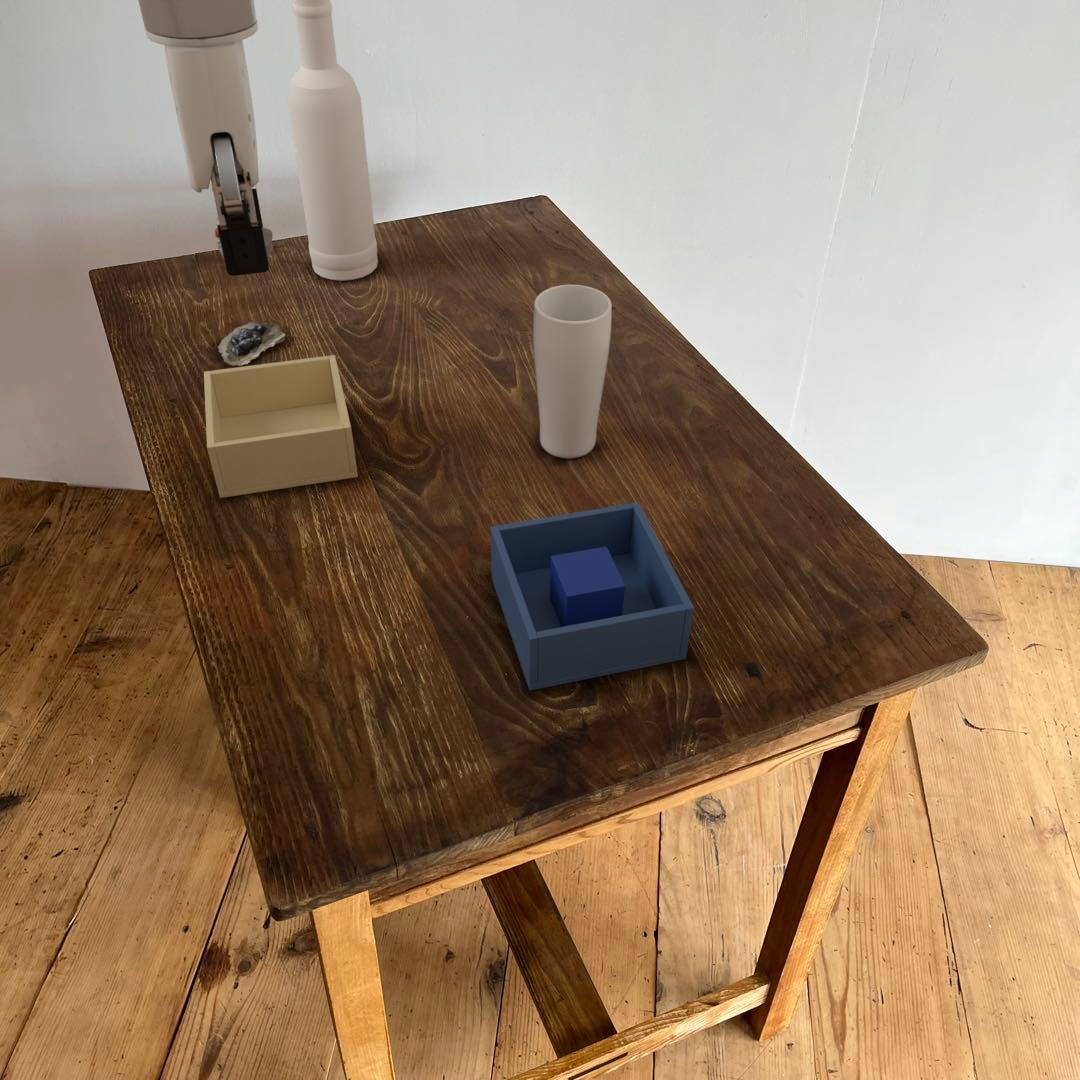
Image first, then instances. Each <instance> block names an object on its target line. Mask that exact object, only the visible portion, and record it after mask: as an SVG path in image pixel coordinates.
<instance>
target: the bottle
mask: <svg viewBox="0 0 1080 1080" xmlns="http://www.w3.org/2000/svg"><path fill="white" fill-rule="evenodd" d="M292 10H293V13H294V15H295V21H296V28H297V35H298V42H299V44H298V45H299V51H300V58H301V66H299V69H298V70H297V71H296V72H295V74H293V76H292V77H291V79H290V84H289V89H288V94H287V107H288V113H289V120H290V127H291V133H292V140H293V147H294V152H295V160H296V166H297V173H298V181H299V186H300V193H301V201H302V206H303V213H304V220H305V227H306V234H307V238H308V252H309V257H310V259H311V266H312V269H313V271H314V273H315V274H317V275H318V276H320V277H321V278H323V279H327V280H330V281H339V282H345V281H353V280H358V279H362V278H365V277H367V276H368V275H370V274H372V273H373V272H374V271H375V270H376V269H377V268H378V264H379V260H378V243H377V238H376V233H375V232H376V231H375V223H374V213H373V204H372V203H373V202H372V192H371V183H370V175H369V174H370V173H369V165H368V154H367V144H366V135H365V127H364V116H363V107H362V97H361V95H360V92H359V89H358V86H357V85H356V83H355V80H354V78H353V76H352V75H351V73H349V72H348V71H347V70H346V69H345V68H343V67H342V66H341V65H340V64H339V63H338V58H337V49H336V42H335V41H336V40H335V32H334V23H333V15H332V12H333V4H332V2H331V1H330V0H293V5H292Z"/></svg>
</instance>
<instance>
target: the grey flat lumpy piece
mask: <svg viewBox="0 0 1080 1080" xmlns="http://www.w3.org/2000/svg"><path fill="white" fill-rule="evenodd" d="M285 333H286V332H284V331H283V330H282V328H280V325H279V324H276V323H270V324H269V322H263V323H258V321H255V320H251V321H249V322H247V323H246V324H243V325H240V326H237V327H236V328H233V331H231V332H229V333H228V335H226V336H225V337H223V338H222V339H221V341H220V343H219V345H217V348H218V353H219V354H221V357H222V359H223V362H224V363H225V364H226V365H229V366H232V367H234V366H238V367H241V366H243V365H244V366H245V365H249V363H251V361H253V360H255V359H257V358H259V356H260V354H261V353H262V352H263V351H264V352H266V350H267V349H268V348H270V347H271V348H272V347H275V345H276V344H280V343H283V342H284V341H286V340H287V335H286V334H285Z"/></svg>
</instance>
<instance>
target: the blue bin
mask: <svg viewBox="0 0 1080 1080" xmlns="http://www.w3.org/2000/svg"><path fill="white" fill-rule="evenodd" d="M489 530H490V561H491V563H490V564H491V567H490V568H491V580H492V583H493V586H494V589H495V592H496V596H497V598H498V601H499V604H500V606H501V607H500V608H501V610H502V613H503V615H504V619H505V622H506V625H507V628H508V630H509V634H510V637H511V641H512V643H513V646H514V648H515V649H514V650H515V651H516V655H517V657H518V661H519V664H520V666H521V670H522V673H523V676H524V678H525V681H526V684H527V687H528V688H527V689H528V690H529V691H535V690H540V689H546V688H549V687H550V688H551V687H555V686H560V685H565V684H569V683H574V682H579V681H585V680H588V679H595V678H599V677H604V676H610V675H613V674H619V673H625V672H628V671H629V672H630V671H635V670H638V669H644V668H648V667H654V666H660V665H664V664H669V663H673V662H678V661H683V660H686V659H687V653H688V648H689V642H690V635H691V628H692V623H693V618H694V617H693V616H694V610H695V606H694V604H693V603H692V601H691V599H690V597H689V596H688V593H687V591H686V590H685V587H684V586H683V584H682V582H681V580H680V579H679V577H678V574H677V573H676V571H675V568H674V567H673V565H672V564H671V561H670V559H669V557H668V556H667V554H666V552H665V550H664V548H663V546H662V544H661V543H660V541H659V539H658V536H657V535H656V532H655V531H654V529H653V527H652V526H651V524H650V522H649V520H648V518H647V516H646V514H645V512H644V510H643V508H642V506H641V505H640V503H639V501H636V502H631V503H626V504H620V505H619V504H618V505H612V506H607V507H601V508H595V509H590V510H583V511H578V512H577V511H576V512H571V513H565V514H560V515H553V516H548V517H542V518H541V517H540V518H535V519H530V520H523V521H519V522H512V523H511V522H510V523H506V524H500V525H494V526H490V529H489ZM600 547H607V548H608V550H609V553H610V555H611V557H612V559H613V561H614V563H615V565H616V567H617V570H618V572H619V574H620V576H621V578H622V580H623V582H624V585H625V592H624V602H623V612H622V616H617V617H612V618H607V619H602V620H596V621H591V622H586V623H581V624H575V625H570V626H565V627H561V625H560V622H559V620H558V617H557V615H556V612H555V609H554V607H553V604H552V602H551V599H550V572H551V556H555V555H560V554H566V553H572V552H577V551H583V550H589V549H595V548H600Z"/></svg>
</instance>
